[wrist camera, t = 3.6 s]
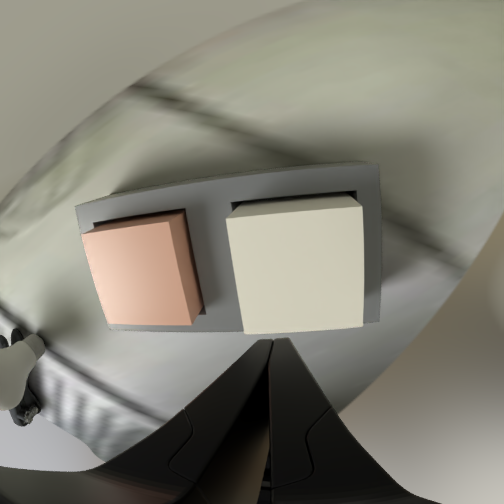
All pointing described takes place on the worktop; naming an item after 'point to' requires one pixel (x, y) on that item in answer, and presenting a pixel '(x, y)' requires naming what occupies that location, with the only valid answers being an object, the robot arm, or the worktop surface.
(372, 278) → the keypad
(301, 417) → the robot arm
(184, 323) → the terracotta key
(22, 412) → the can opener
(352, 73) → the worktop surface
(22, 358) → the lightbulb
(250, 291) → the cream key
